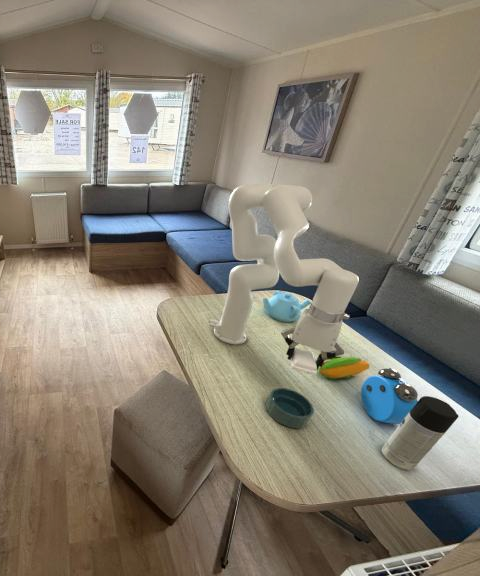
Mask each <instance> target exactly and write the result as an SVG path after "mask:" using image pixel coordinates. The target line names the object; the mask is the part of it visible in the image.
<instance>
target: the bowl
mask: <svg viewBox="0 0 480 576" xmlns="http://www.w3.org/2000/svg"><path fill="white" fill-rule="evenodd" d="M265 406H266V411H267V412H268V414H269V415H270V416H271V417H272V418H273V419H274V420H275V421H277V422H278V423H280V424H281V425H283V426H286V427H288V428H291V429H303V428H306V427H307V426H308V424H309V423H310V421H311V419H312V417H313V415H314V411H315V409H314V406H313V404H312V402H311V401H310V400H309V399H308V398H307V397H305V396H304V395H303V394H302V393H299V392H298V391H296V390H293V389H291V388H287V387H276V388H274V389H272V390H271V391H270V394H269V396H268V399H267V402H266V405H265Z"/></svg>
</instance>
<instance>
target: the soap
mask: <svg viewBox="0 0 480 576" xmlns="http://www.w3.org/2000/svg"><path fill="white" fill-rule="evenodd" d="M316 360H317V359H316V358H315V355H314V352H313V351H311V350H307V349H303V348H299V347H295V349H294V352H293V355H292V357H291V359H290V360H288V361H289V365H290V368H291V370H294V371H296V372H306V374H309V375H311V376H316V375H317V373H318V370H317V365H316Z"/></svg>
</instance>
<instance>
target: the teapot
mask: <svg viewBox="0 0 480 576" xmlns="http://www.w3.org/2000/svg"><path fill="white" fill-rule="evenodd" d="M262 302H263V308H264V311H265V313H266V314H267V315H268V316H269V317H270V318H271V319H273V320H276V321H279V322H283V323H293V322H295V321H298V320H299V318H300V316H301V315H302V310H303V309H306V307H308V306H310V305H311V302H312V301H310V300H308V298H307V299H305V300H304V301H303V302H301V303H300V301H299V299H298V298H297V297H296V296H295V295H293V294H292V293H290V292H282V291H281V290H275V292H274V293H273V296H272V297H270V298H269V299H268V298H267V297H262Z"/></svg>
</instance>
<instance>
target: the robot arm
mask: <svg viewBox="0 0 480 576" xmlns="http://www.w3.org/2000/svg"><path fill="white" fill-rule="evenodd" d="M312 204H313V195H312V192H311V191H310V190H309V188H307V187H305V186H302V185H292V184H290V185H289V184H282V183H250V184H243V185H240V186H238V187H236V188H235V189H234V190H233V191H232V193H231V194H230V196H229V199H228V214H229V217H230V223H231V241H232V254H233V257H234V259H235V260H237V261H242V262H247V261H248V262H249V261H250V262H251V261H257V263H248V264H239V265H237V266H236V265H235V266H234V267H233V268H232V269H231V270H230V272H229V274H228V275H229V276H228V289H227V294H226V297H225V302H224V306H223V310H222V314H221V318H220V320H215V319H214V318H213V319H212V318H209V320H208V324H210V325H209V327H212V328H213V334H214V336H215V337H216V338H217V339H218V340H220V341H221V342H224V343H225V344H229V345H242V344H244V343H245V342H246V341H247V338H248V337H247V334H246V333H245V330H246V327H247V323H248V321H249V317H250V315H251V310H252V307H253V305H254V297H253V295H252V291H255V290H261V289H270V288H274V287H275V286H276V285H277V284H278V282H279V278H280V277H281V278H282V280H283V281H284V282H285V283H286V284H287V285H289V286H292V287H296V288H298V287H308V286H310V287H311V286H315V287H317V288H316V291H315V293H314V295H313V298H312V300H311V301H310V302H311V304H309V307H308V308H304V310H303V312H301V316H300V318H299V319H298V320H297V322H296V324H295V326H293V327H290V328H287V329H283V330H281V332H280V335H281V337H282V338H283V339H284V341H285V344H287V346H288V348H287V351H286V354H285V355H287V360H288V361H289V360H290V359H291V357H292V355H293V352H294V349H295V348H296V347H297V346H298V345H302V346H305V347H308V348H311V349H314V350H316V351H320V353H319V354H318V355H317V358H316V359H315V360H316V365H317V371H319V366H320V367H322V365H323V363H324V362H326V361H328V360H327V359H329V358H333V357H335V356H337V357H340V356H342V355H345V350H344V348H343V347H342V345H341V344H340V343H339V342H338V341H337V340H338V339H339V336H340V333H341V331H342V330H341V329H342V325H343V320H346V321H347V320H349V318H350V317H351V316H350V314H348V313H346V312H345V311H346V310H347V307H348V305H349V303H350V301H351V299H352V297H353V295H354V293H355V291H356V289H357V287H358V284H359V281H360V279H359V276H358V275H357V274H356V273H354V272H352V271H350V270H347V269H344V268H342V267H341V266H340V265H338V264H337V263H336V262H334V261H333V260H331V259H329V258H323V257H322V258H321V257H320V258H303V259H302V258H301V259H300V257H299V256H298V254H297V252H296V250H295V246H294V240H295V239H297V238H298V237H300V236H302V235H303V234H305V233H306V231H307V230H308V229H309V228H310V222H309V221H308V219H307V217H306V216H305V214H304V213H305V212H306V211H308V210H309V208H311V206H312ZM252 210H265V212H266V215H267V216H268V219H269V221H270V224H271V225H272V227H273V229H274V231H275V233H276V235H277V238H275V237H274V236H272V235H270V234H264V233H263V234H259V232H258V221H257V219H256V217H255V215H254V213H252ZM289 335H292V336H291V337H290V336H289ZM334 349H335V350H334Z"/></svg>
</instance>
